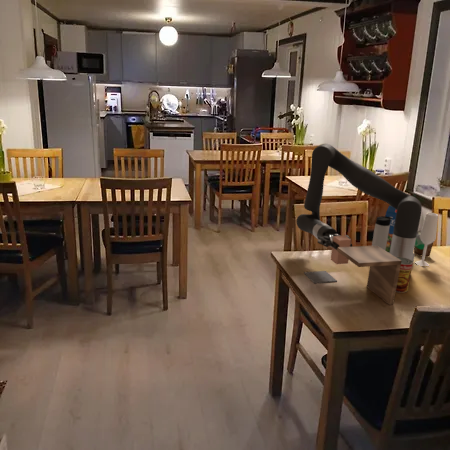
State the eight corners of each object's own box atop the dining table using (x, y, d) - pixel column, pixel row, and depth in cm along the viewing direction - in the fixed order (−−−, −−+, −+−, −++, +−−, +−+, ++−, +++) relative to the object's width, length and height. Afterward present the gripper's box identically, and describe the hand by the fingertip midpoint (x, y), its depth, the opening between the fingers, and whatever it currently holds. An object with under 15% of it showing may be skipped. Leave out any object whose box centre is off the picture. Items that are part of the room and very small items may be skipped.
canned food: (387, 290, 178) (392, 262, 175) (386, 282, 186) (391, 255, 182) (408, 294, 177) (414, 265, 173) (406, 285, 184) (411, 258, 180)
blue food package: (384, 247, 227) (392, 198, 220) (408, 253, 220) (417, 204, 212) (379, 250, 223) (387, 200, 215) (403, 257, 215) (412, 206, 208)
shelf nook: (369, 286, 181) (376, 245, 176) (393, 304, 167) (401, 260, 162) (331, 289, 177) (337, 247, 171) (352, 308, 162) (359, 263, 157)
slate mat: (325, 271, 193) (325, 270, 193) (336, 281, 184) (337, 280, 183) (303, 273, 190) (303, 272, 190) (314, 283, 181) (314, 282, 181)
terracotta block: (341, 258, 185) (344, 235, 182) (347, 263, 180) (351, 239, 177) (330, 259, 183) (333, 236, 180) (336, 264, 179) (339, 240, 176)
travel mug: (386, 260, 209) (393, 219, 203) (372, 259, 209) (379, 218, 203) (382, 255, 215) (389, 215, 209) (368, 254, 215) (375, 214, 209)
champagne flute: (412, 264, 207) (422, 214, 199) (415, 260, 212) (425, 211, 205) (428, 268, 203) (439, 217, 196) (431, 263, 209) (441, 214, 201)
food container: (406, 248, 227) (410, 229, 224) (418, 248, 228) (422, 229, 225) (418, 257, 216) (422, 238, 213) (430, 258, 216) (435, 238, 213)
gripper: (310, 225, 190) (329, 239, 174) (340, 224, 193) (362, 237, 178) (308, 242, 192) (327, 257, 176) (338, 240, 196) (359, 255, 180)
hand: (344, 247), depth 177 cm, fingers closed on terracotta block, 5 cm apart
